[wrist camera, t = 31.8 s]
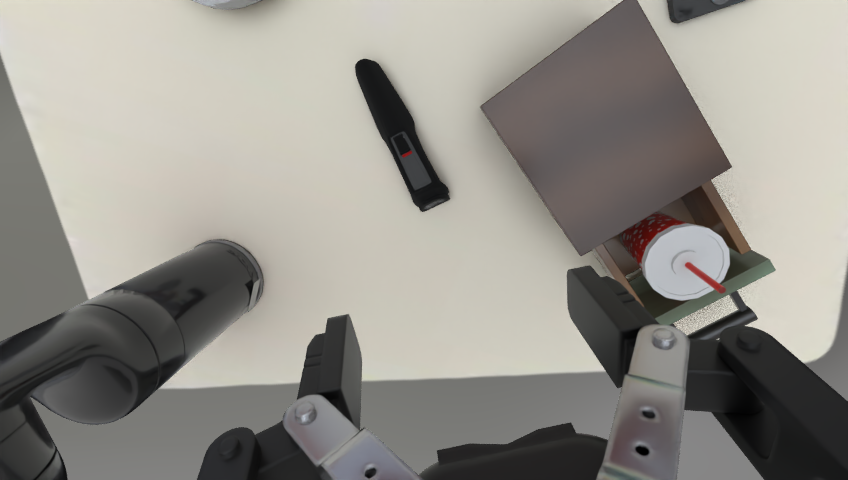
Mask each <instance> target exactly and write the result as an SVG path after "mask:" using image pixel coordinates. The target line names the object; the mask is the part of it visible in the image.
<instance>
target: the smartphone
mask: <svg viewBox="0 0 848 480" xmlns="http://www.w3.org/2000/svg"><path fill="white" fill-rule="evenodd" d="M667 1H668V8H669V14H670V19H671V21H672V22H674V23H680V22H683V21H686V20H689V19H692V18H695V17H698V16H701V15H704V14H707V13H710V12H713V11H716V10H719V9H722V8H725V7H728V6H731V5H734V4H737V3H740V2H742V1H745V0H667Z"/></svg>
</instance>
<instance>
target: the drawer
mask: <svg viewBox="0 0 848 480" xmlns="http://www.w3.org/2000/svg"><path fill="white" fill-rule="evenodd" d="M658 212H661V213H663V214H666V215H668V216H671V217H673V218H676V219H678V220H681V221H683V222H686V223H689V224H694V225H700V226H704V227H707V228H709V229H710V230H712V231H713V232H715V233H716V234H718V235H719V236H721V237H722V238H723V240H724V242H725V243H726V245H727V247H728V249H729V257H730V265H729V268H728V270H727V273H726V275H725V278H724V279H723V280H722V281H721V282H720V283H719V284H721V285H722V286H723V287H725V288H726V292H725V293H722V294H721V293H719V292H718V291H716V290H715V289H714V290H713V291H711V292H709V293H707V294H705V295H703V296H701V297H699V298H695V299H689V300H682V301H681V300H676V299H670V298H666V297H664V296H663V295H661V294H660V293H658V292H657V291H655V290H654V289H653V288H652V287H651V286H650V284H649V283H648V281H647V280H646V278H645V276H644V275H641V276H639V277H637V278H635V279H634V280H632V281H630V282H628V281H627V279H626V277H625V276H626V275H628V274H630V273H632V272H633V271H635V270H637V269H639V268H640V267H639V266H638V264H637V263H636V262H635V261H634V259H633V258H632V257H631V256H630V254H629V253H628V252H627V250H626V249H625V248H624V246H623V245H622V243H621V242H620V235H619V234H618V235H616V236H615V237H613V238H611V239H609V240H608V241H606V242H604V243H603V244H601V245H599V246H598V247H596V248H594V249H592V251H593V253H594V254H595V256H596V257H597V259H598V260H599V262H600V263H601V265H602V266H603V268H604V269H605V271H606V272H607V274H608V275H609V277H610V278H612V279H614V280H616V281H618V282H620V283H621V284H622V285H623V286H624V287H625V288H626V289H627V290H628V291H629V293H631V294H632V295H633V296H634V297H635V298H636V301H638V302H639V303H640V304H641V305H642V306H643V307H644V308H645V309H646V310H647V311H648V312H649V313H650V314H651V315H652V316H653V317H654V318H655V319H656V321H657V322H658V323H659V324H664V325H669V326H672V327H675V325H674V324H673V323H674V322H676V321H678V320H680V319H682V318H684V317H686V316H688V315H690V314H692V313H694V312H696V311H697V310H699V309H701V308H703V307H705V306H707V305H709V304H711V303H713V302H715V301H717V300H719V299H721V298H723V297H725V296H727V295H730V297H731V299H732V300H733V302H734V304H735V305H736V307H737V309H738V310H737V311H735V312H733V313H731V314H729V315H727V316H725V317H723V318H721V319H719V320H717V321H715V322H713V323H711V324H709V325H707V326H705V327H703V328H701V329H699V330H697V331H695V332H693V333H691V334H689V335H687V337H688V338H689V339H704V340H716V339H718V338H720V334H721V332H722V331H723V330H724V329H725V328H728V327H731V326H745V325H747V324H749V323H751V322H753V321H755V320H757V319H758V318H757V316H756V314H755V313H754V312H753V311H752V310H751V309H750V308H749V307H748V306H746V305H745V303H744V302H743V300H742V298H741V297H740V295H739V293H738V292H737V290H738V289H740V288H742V287H744V286H746V285H748V284H750V283H752V282H754V281H756V280H758V279H760V278H762V277H764V276H766V275H768V274H770V273H772V272H774V271H775V268H774V266H773V265H772V263H771V261H770V259H768V258H766V257H764V256H762V255H760V254H758V253H756V252H755V251H753V250H751V248H750V247H749V245H748V243H747V241H746V240H745V238H744V236H743V235H742V233H741V231H740V229H739V228H738V226H737V224H736V223H735V221H734V219H733V217H732V216H731V214H730V212H729V211H728V209H727V207H726V205H725V204H724V202H723V200H722V199H721V197H720V195H719V193H718V192H717V190H716V188H715V187H714V185H713V183H712V181H711V180H710V181H708V182H706V183H704V184H703V185H701V186H699V187H698V188H696V189H694V190H693V191H691V192H689V193H688V194H686V195H684V196H682V197H681V198H679V199H677V200H676V201H674V202H672V203H671V204H669V205H667V206H665V207H664V208H662V209H660V210H659V211H658ZM675 328H676V327H675Z"/></svg>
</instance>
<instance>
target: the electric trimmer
mask: <svg viewBox="0 0 848 480" xmlns="http://www.w3.org/2000/svg"><path fill="white" fill-rule="evenodd" d="M355 70H356V76H357V79H358V82H359V85H360V87H361V89H362V92H363V94H364V97H365V99H366V102H367V104H368V106H369V109H370V111H371V114H372V116H373V118H374V121H375V123H376V126H377V128H378V130H379V132H380V134H381V136H382V138H383V140H384V141H385V142H386V144H387V146H388V148H389V149H390V151H391V153H392V155H393V157H394V159H395V162H396V164H397V166H398V168H399V170H400V173H401V175H402V177H403V179H404V181H405V183H406V186H407V188H408V190H409V192H410V194H411V197H412V200H413V203H414V204H415V205H416V206H418V207H419V208H420V210H421V211H422V212H424V211H427V210H429V209H431V208H433V207H435V206H437V205H439V204H442V203H444V202H446V201H448V200H450V198H449V195H448V193H449V191H448V188H447V187H446V186H445V185H444V184H443V183H442V182H441V181H440V180H439V178H438V176H437V174H436V172H435V171H434V169H433V167H432V165H431V163H430V162H429V160H428V158H427V156H426V154H425V152H424V150H423V148H422V146H421V144H420V141H419V139H418V137H417V134H416V131H415V127H414V121H413V118H412V117H411V115H410V113H409V111H408V110H407V108H406V106H405V105H404V103H403V102H402V100H401V98H400V97H399V95H398V94H397V92H396V90H395V89H394V87H393V86H392V84H391V82H390V81H389V79H388V78H387V76H386V74H385V73H384V71H383V70H382V68H381V67H380V66H379V64H378V63H377V62H375V61H372V60H368V59H362V60H360V61H358V62H357V63H356V65H355Z"/></svg>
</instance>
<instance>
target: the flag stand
mask: <svg viewBox="0 0 848 480" xmlns="http://www.w3.org/2000/svg"><path fill="white" fill-rule="evenodd" d="M192 1H195V2H197V3H200V4H203V5H206V6H209V7H211V8H215V9H224V10H230V9H239V8H243V7H245V6H248V5H251V4H254V3H257V2H259V1H262V0H192Z"/></svg>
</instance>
